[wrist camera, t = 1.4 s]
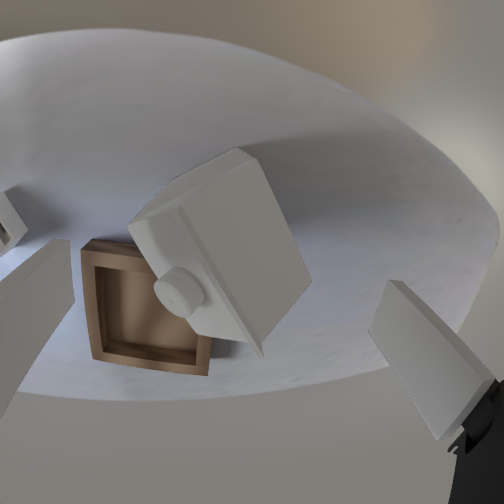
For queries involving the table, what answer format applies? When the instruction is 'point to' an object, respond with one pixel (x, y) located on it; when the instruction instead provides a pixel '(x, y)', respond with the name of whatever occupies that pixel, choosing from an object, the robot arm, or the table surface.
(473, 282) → the table surface
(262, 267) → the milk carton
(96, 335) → the square wooden tray
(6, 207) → the white angled block
